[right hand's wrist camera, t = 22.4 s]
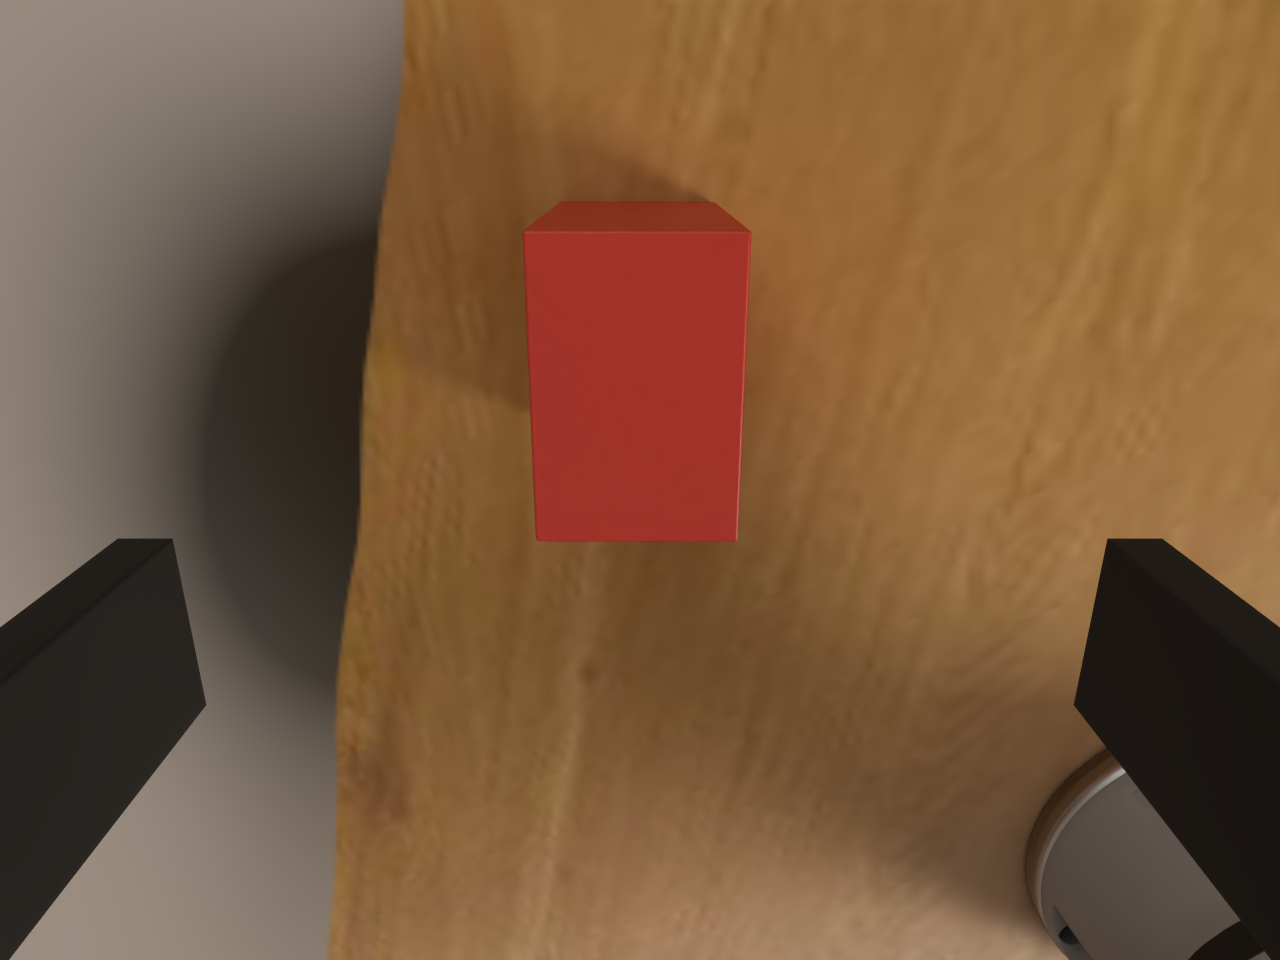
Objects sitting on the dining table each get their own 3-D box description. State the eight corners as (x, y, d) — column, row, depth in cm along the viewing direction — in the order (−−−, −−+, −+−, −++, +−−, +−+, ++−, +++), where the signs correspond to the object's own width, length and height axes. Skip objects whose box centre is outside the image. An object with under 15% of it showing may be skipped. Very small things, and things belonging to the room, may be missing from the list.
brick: (558, 201, 33) (521, 230, 22) (715, 202, 33) (751, 230, 22) (565, 426, 36) (535, 542, 26) (709, 426, 36) (737, 542, 26)
